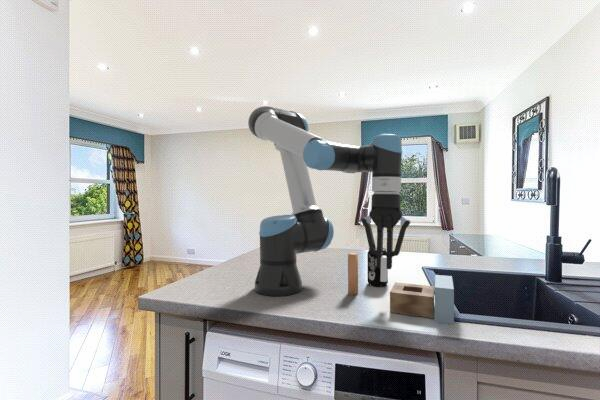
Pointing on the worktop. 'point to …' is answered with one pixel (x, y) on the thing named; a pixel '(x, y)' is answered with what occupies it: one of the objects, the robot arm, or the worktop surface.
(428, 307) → the socket block
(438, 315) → the wall
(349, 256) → the dowel
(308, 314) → the worktop surface
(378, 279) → the beverage can
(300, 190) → the robot arm
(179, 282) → the worktop surface
